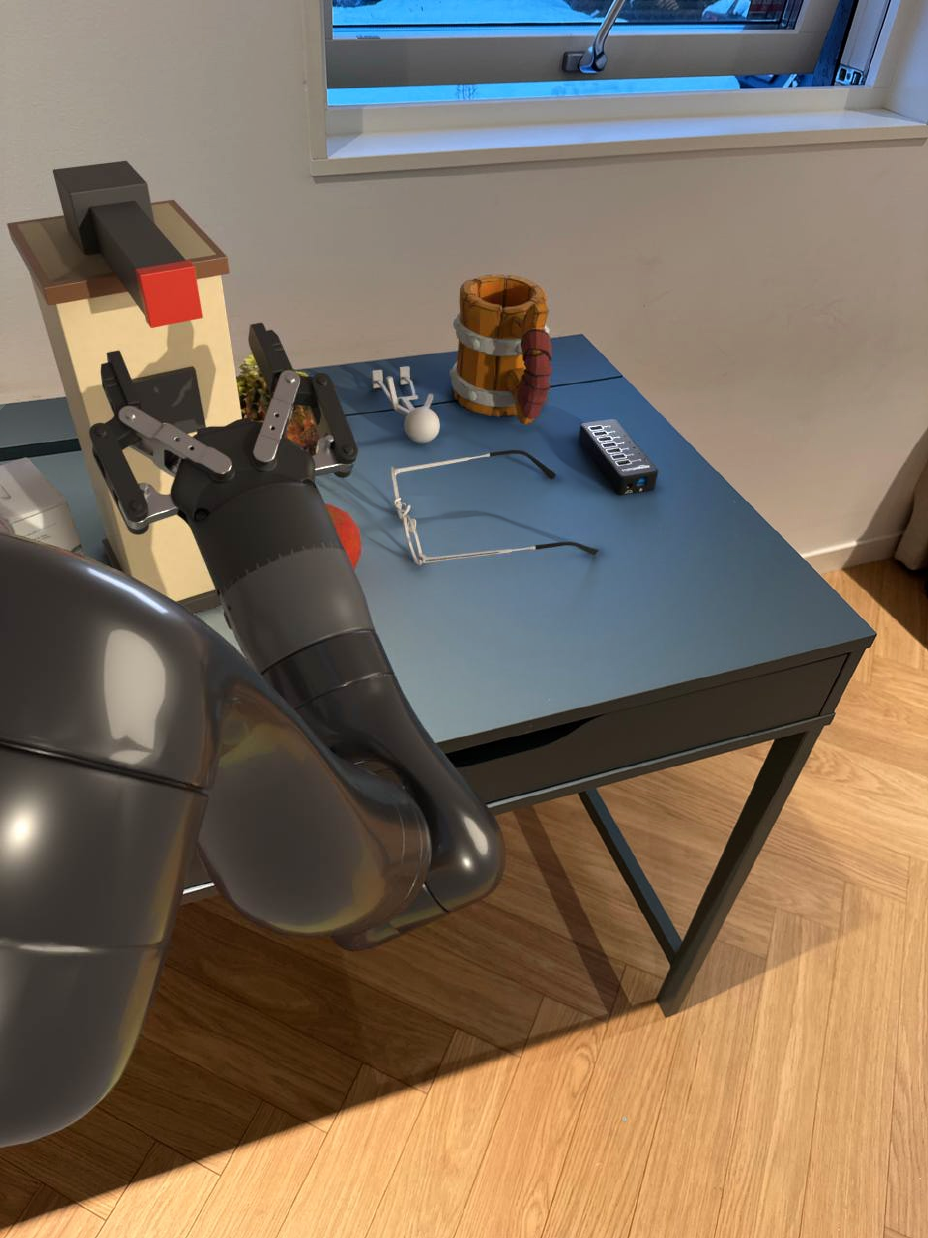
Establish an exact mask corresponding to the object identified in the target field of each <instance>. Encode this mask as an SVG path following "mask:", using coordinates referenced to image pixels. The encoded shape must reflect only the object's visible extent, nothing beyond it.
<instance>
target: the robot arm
mask: <svg viewBox="0 0 928 1238" xmlns="http://www.w3.org/2000/svg"><path fill="white" fill-rule="evenodd" d="M248 328H249V329H248V337H247V338H248V339H247V340H248V346H249V348H250V352H251V353H252V354H253V356H254V358H255V360H256V363H257V365H258V367H259V370H260V372H261V374H262V376H263V379H264V381H265V383H266V385H267V388H268V390H269V392H270V393H271V392H274V395H273V398H272V399H271V402H270V405H269V407H268V410H267V413H266V416H265V419H264V422H263V423H261V422H258V421H251V420H250V417H247V418H243V419H239V420H236V421H234V422H232V423H230V424H228V425H226V426H210V427H206V428H201V429H197V434H195V435H194V436H193V437H191V436H190V435H188V434H186V433H185V432H183V431H181V430H180V429H178V428H176V427H175V426H173V425H172V424H170V423H161V422H159V421H157V420H156V419H154V418H153V417H151V416H149V415H148V414H146V413H144V412H143V411H141V401H140V399H139V396H138V394H137V392H136V389H135V387H134V384H133V382H132V379H131V377H130V374H129V372H128V369H127V367H126V365H125V362H124V360H123V357H122V355H121V352H120V351H119V350H118V351H113V352H108V353H107V361H108V363H103V364H101V379H102V386H103V389H104V391H105V394H106V396H107V399H108V401H109V404H110V406H111V409H112V411H113V414H114V417H113V418H112V419H111V420H109V421H108V422H106V423H96V424H94V425H92V426H91V428H90V430H89V434H90V439H91V441H92V447H93V448H92V452H93V457H94V459H95V461H96V463H97V465H98V467H99V469H100V471H101V474H102V476H103V478H104V480H105V482H106V484H107V486H108V488H109V491H110V493H111V495H112V497H113V499H114V501H115V503H116V505H117V508H118V510H119V512H120V514H121V516H122V518H123V520H124V522H125V524H126V527H127V529H128V530H129V531H130V532H131V533H133V534H136V535H140V534H144V533H145V532H146V531H147V530H148V529H149V524H151V523H154V522H156V521H159V520H162V519H165V518H168V517H171V516H174V515H178V516H179V517H180V518H181V519H183V520H184V521H185V522H186V523H187V524H188V526H189V527H190V529H191V531H192V533H193V535H194V538H195V540H196V543H197V545H198V548H199V550H200V553H201V555H202V557H203V560H204V562H205V565H206V567H207V570H208V572H209V575H210V577H211V580H212V582H213V584H214V587H215V589H216V592H217V594H218V597H219V599H220V602H221V604H222V605H221V606H222V609H223V617H224V619H225V622H226V624H227V627H228V628H229V629H230V630H231V631H232V634H233V636H234V639H235V641H236V643H237V645H238V647H239V649H240V651H239V650H238V649H237V648H236V647H234V645H233V644H232V643H230V642H229V641H228V640H227V638H225V637H224V636H222V635H221V634H220V633H219V632H218V631H216V629H214V628H213V627H211V625H209V624H207V622H205V621H204V619H202V618H201V617H199V616H198V615H197V614H196V613H194V614H193V613H192V612H191V611H189V610H188V609H187V608H185V607H184V606H183V605H181V604H179V603H178V602H176V601H174V600H173V599H171V598H169V597H168V596H166V595H164V594H162V593H161V592H159V591H157V590H156V589H154V588H152V587H150V586H149V585H147V584H145V583H143V582H141V581H139V580H138V579H136V578H134V577H132V576H130V575H128V574H126V573H124V572H121V571H119V570H117V569H115V568H112V566H111V565H107V564H106V563H104V562H101V561H99V560H97V559H94V558H92V557H89V556H86V555H85V556H83V555H80V554H77V553H74V552H71V551H68V550H65V549H62V548H59V547H56V546H53V545H50V544H46V543H43V542H40V541H37V540H33V539H30V538H27V537H24V536H20V535H16V534H12V533H8V532H4V531H0V1148H1V1149H2V1148H8V1147H13V1146H18V1145H23V1144H28V1143H31V1142H34V1141H36V1140H39V1139H42V1138H44V1137H48V1136H50V1135H53V1134H55V1133H57V1132H59V1131H62V1130H64V1129H65V1128H67V1127H69V1126H71V1125H73V1124H75V1123H76V1122H77V1121H79V1120H80V1119H82V1118H83V1117H85V1116H86V1115H87V1114H88V1113H90V1111H91V1110H93V1109H94V1108H95V1107H96V1106H97V1105H99V1103H101V1102H102V1101H103V1100H104V1099H105V1097H107V1096H108V1095H109V1094H110V1093H111V1092H112V1091H113V1089H114V1088H115V1087H116V1085H117V1084H118V1082H119V1080H120V1079H121V1078H122V1077H123V1074H124V1073H125V1071H126V1070H127V1067H128V1065H129V1063H130V1061H131V1059H132V1056H133V1054H134V1052H135V1050H136V1047H137V1046H138V1043H139V1040H140V1039H141V1036H142V1033H143V1031H144V1028H145V1025H146V1023H147V1019H148V1018H149V1015H150V1012H151V1009H152V1005H153V1003H154V999H155V996H156V994H157V990H158V987H159V984H160V981H161V977H162V974H163V971H164V969H165V965H166V961H167V958H168V955H169V952H170V948H171V944H172V940H173V938H172V935H173V932H174V928H175V925H176V922H177V917H178V913H179V909H180V906H181V903H182V899H183V895H184V893H185V887H186V884H187V881H188V877H189V873H190V869H191V866H192V862H193V859H194V855H195V853H196V856H197V858H198V860H199V862H200V864H201V867H202V868H203V870H204V871H205V874H206V875H207V876H208V877H209V879H210V881H211V883H212V884H213V886H214V887H215V889H216V890H217V892H218V893H219V894H220V895H221V896H222V897H223V899H224V900H225V901H226V902H227V903H228V904H229V905H230V906H231V907H232V908H233V909H234V911H236V912H238V914H240V915H241V916H242V917H244V918H246V920H249V921H250V922H251V923H253V924H254V925H255V926H258V927H260V928H262V929H264V930H267V931H270V932H273V933H275V934H278V935H282V936H290V937H295V938H304V939H305V938H306V939H307V938H322V937H324V938H325V937H329V938H330V939H331V940H332V941H333V942H334V943H335V944H336V945H337V946H338V947H340V948H341V949H343V950H345V951H346V952H352V953H354V952H363V951H367V950H369V949H370V950H371V949H374V948H377V947H380V946H383V945H385V944H387V943H389V942H392V941H394V940H397V939H399V938H401V937H403V936H405V935H408V934H410V933H413V932H414V931H417V930H419V929H421V928H423V927H425V926H427V925H430V924H432V923H434V922H436V921H438V920H440V919H443V918H445V917H447V916H450V915H452V914H453V913H456V912H459V911H461V910H463V909H465V908H467V907H470V906H472V905H474V904H476V903H478V902H480V901H483V900H484V899H486V898H487V897H488V896H490V895H492V894H493V892H494V891H495V890H496V889H497V887H498V886H499V885H500V883H501V880H502V878H503V875H504V872H505V868H506V854H507V853H506V846H505V845H506V844H505V839H504V834H503V831H502V829H501V826H500V825H499V823H498V820H497V818H496V817H495V815H494V813H493V811H492V810H491V809H490V808H489V806H488V805H487V803H486V802H485V801H484V798H482V796H481V795H480V794H479V793H478V792H477V790H476V789H475V788H474V787H473V786H472V784H470V782H469V781H468V780H467V779H466V778H465V777H464V776H463V774H462V773H461V772H460V771H459V769H458V768H457V767H456V766H455V765H454V764H453V763H452V761H450V759H449V758H448V757H447V755H446V754H445V753H444V752H443V750H442V749H441V748H440V747H439V746H438V744H437V743H436V741H435V739H433V737H432V736H431V735H430V733H429V732H428V730H427V729H426V728H425V726H424V725H423V723H422V722H421V720H420V718H419V717H418V715H417V713H416V712H415V710H414V709H413V707H412V705H411V704H410V702H409V700H408V697H406V694H405V692H404V690H403V689H402V687H401V685H400V682H399V680H398V677H397V676H396V673H395V671H394V669H393V666H392V664H391V662H390V659H389V657H388V655H387V653H386V650H385V648H384V646H383V644H382V641H381V639H380V637H379V635H378V633H377V629H376V628H375V625H374V622H373V619H372V616H371V612H370V609H369V605H368V601H367V598H366V594H365V592H364V589H363V587H362V585H361V582H360V581H359V578H358V576H357V574H356V571H355V568H354V569H353V567H352V564H351V562H350V560H349V558H348V555H347V553H346V551H345V548H344V546H343V544H342V542H341V539H340V537H339V535H338V533H337V530H336V528H335V526H334V524H333V521H332V519H331V517H330V515H329V512H328V510H327V508H326V505H325V503H326V502H325V501H324V499H323V497H322V494H321V491H320V490H319V488H318V487H317V484H316V479H315V478H316V477H320V476H325V475H329V474H333V475H334V476H335V477H337V478H340V479H345V478H348V477H349V476H350V475H351V474H352V471H353V468H354V466H355V462H356V460H357V458H358V455H359V448H358V445H357V442H356V440H355V438H354V434H353V432H352V429H351V426H350V424H349V422H348V418H347V416H346V414H345V412H344V408H343V406H342V403H341V401H340V399H339V396H338V393H337V391H336V388H335V386H334V382H333V380H332V378H331V377H330V375H329V374H327V373H324V372H317V373H315V374H314V375H313V376H309V375H308V376H309V377H308V376H302V375H299V374H297V373H296V372H295V371H296V370H295V371H294V370H293V368H294V367H293V366H292V364H291V361H290V359H289V357H288V354H287V352H286V350H285V348H284V346H283V344H282V341H281V339H280V337H279V335H278V334H277V333H276V332H275V331H274V330H273V329H269V330H268V329H266V327H265V325H264V323H263V322H261V321H260V322H257V323H252V324H249V327H248ZM295 405H298V406H308V407H309V410H310V413H311V415H312V418H313V421H314V423H315V426H316V429H317V431H318V434H319V437H320V439H319V441H318V444H317V447H316V454H315V455H314V456H311V454H310V453H309V452H307V451H306V450H304V449H303V448H301V447H300V446H298V445H297V444H295V443H293V442H292V441H290V440H289V439H287V438H286V437H285V434H286V431H287V427H288V424H289V421H290V418H291V415H292V412H293V409H294V406H295ZM128 446H129V447H131V448H133V449H134V450H136V451H138V452H139V453H141V454H143V455H144V456H146V457H148V458H149V459H151V460H152V462H153V463H154V464H155V465H156V466H157V467H158V468H159V469H161V470H162V471H164V472H166V473H167V474H169V475H171V476H172V477H174V481H173V484H172V487H171V491H170V494H168V495H163V494H160V493H158V492H157V491H156V490H155V489H154V488H153V486H151V485H150V484H147V483H139V484H138V483H137V481H136V479H135V476H134V474H133V472H132V470H131V468H130V466H129V464H128V462H127V460H126V458H125V456H124V453H123V451H122V450H123V449H125V448H127V447H128ZM366 762H368V763H369V762H377V763H379V764H382V765H384V766H386V767H387V768H388V769H390V770H391V771H392V772H393V773H394V774H395V775H396V776H397V777H398V778H399V780H400V782H401V784H402V786H399V785H398V784H397V783H395V782H393V781H391V780H390V779H388V778H386V777H384V776H381V775H380V774H377V773H375V772H373V771H372V770H371V771H370V770H368V769H366V768H364V767H361V766H360V765H357V764H359V763H366Z"/></svg>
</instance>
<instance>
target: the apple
mask: <svg viewBox="0 0 928 1238" xmlns="http://www.w3.org/2000/svg"><path fill="white" fill-rule="evenodd" d="M324 503H325V505H326V508H327V510H328V512H329V515H330V517H331V519H332V521H333V524H334V526H335V528H336V530H337V533H338V535H339V537H340V539H341V542H342V544H343V546H344V548H345V551H346V553H347V555H348V558H349V560H350V562H351V564H352V567H353V569H354V570H355V568H356V566H357V565H358V563H359V560H360V557H361V554H362V540H361V532H360V529H359V527H358V526H357V524H356V522H355V521H354V519H353V518H352V517H351V515H350V514H349V512H347V511H345V510H343V509H341V508H339V507H337V506H335V505H333V504H329V503H326V502H324Z"/></svg>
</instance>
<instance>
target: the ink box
mask: <svg viewBox="0 0 928 1238" xmlns="http://www.w3.org/2000/svg"><path fill="white" fill-rule="evenodd" d="M75 523H76V522H75V521H74V517H73V514H72V512H71V509H70V505H69V503H68V500H66V499H65V498H64V496H63V495H62V494H61V493H60V492H59V491H58V489H56V488H55V486H54V485H53V484H52V483H51V482H50V481H49V480H48V478H47V477H46V476H45V475H44V474H43V473H42V472H41V471H40V470H39V469H38V468H37V466H35V464H34V463H33V462H32V461H31V460H30V459H29V458H28V457H22V458H18V459H16V460H13V461H9V462H7V463H3V464H1V465H0V531H4V532H8V533H12V534H16V535H20V536H24V537H27V538H30V539H33V540H37V541H40V542H43V543H46V544H50V545H53V546H56V547H59V548H62V549H65V550H68V551H71V552H74V553H77V554H80V555H83V556H86V554H85V552H84V549H83V546H82V542H81V539H80V536H79V533H78V529H77V526H76V524H75Z"/></svg>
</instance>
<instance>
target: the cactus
mask: <svg viewBox="0 0 928 1238" xmlns="http://www.w3.org/2000/svg"><path fill="white" fill-rule="evenodd" d="M248 356H249V357H250V358H249V357H248V358H244V359H243V363H242V364H240V366H238V368H239V369H241V370H242V371H240V372H239V374H238V376H237V377H236V382H237V389H238V396H239V402H240V409H241V416H242V419H243V418H247V417H250V420H251V421H258V422H261V423H263V422H264V419H265V416H266V413H267V410H268V407H269V405H270V402H271V399H272V398H273V395H274V392H271V393H270V392H269V390H268V388H267V385H266V383H265V381H264V379H263V376H262V374H261V372H260V370H259V367H258V365H257V363H256V360H255V358H254V356H253V354H252V352H250V353H249V354H248ZM292 368H293V370H294V371H295V372H296V373H297V374H299V375H302V376H308V377H310V376H309V374H307V373H306V372H303V371H297V370H296V368H295V367H292ZM285 437H286V438H287V439H289V440H290V441H292V442H293V443H295V444H297V445H298V446H300V447H301V448H303V449H304V450H306V451H307V452H309V453H310V454H311V456H314V455H315V454H316V447H317V444H318V441H319V439H320V437H319V434H318V431H317V429H316V426H315V423H314V421H313V418H312V415H311V413H310V410H309V407H308V406H298V405H295V406H294V409H293V412H292V415H291V418H290V421H289V424H288V427H287V431H286V434H285Z"/></svg>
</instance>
